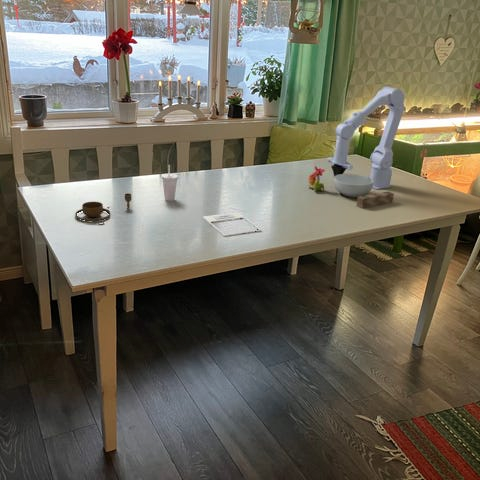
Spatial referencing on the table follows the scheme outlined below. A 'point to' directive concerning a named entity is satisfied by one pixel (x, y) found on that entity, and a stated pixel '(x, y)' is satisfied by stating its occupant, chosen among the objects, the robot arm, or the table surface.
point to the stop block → (375, 199)
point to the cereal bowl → (353, 184)
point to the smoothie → (169, 185)
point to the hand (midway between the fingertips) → (337, 181)
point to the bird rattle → (316, 179)
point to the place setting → (97, 209)
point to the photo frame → (227, 217)
